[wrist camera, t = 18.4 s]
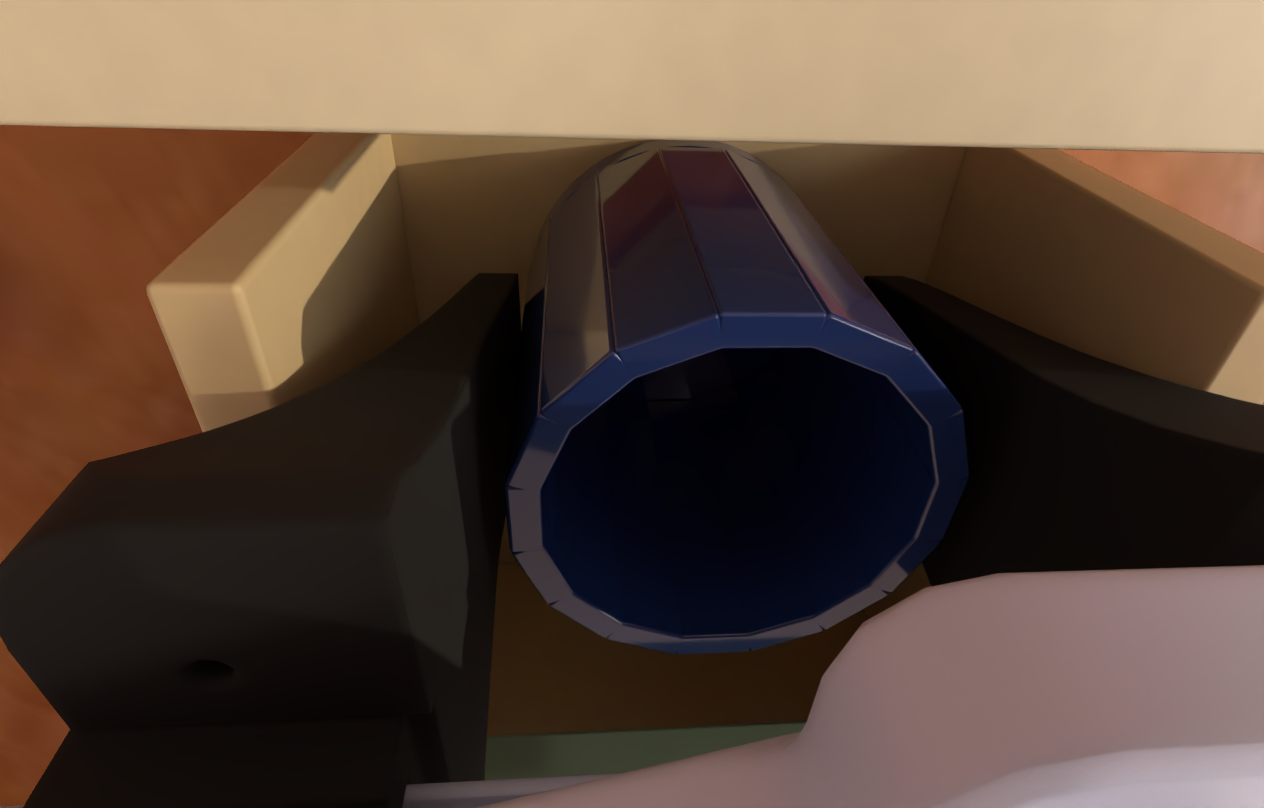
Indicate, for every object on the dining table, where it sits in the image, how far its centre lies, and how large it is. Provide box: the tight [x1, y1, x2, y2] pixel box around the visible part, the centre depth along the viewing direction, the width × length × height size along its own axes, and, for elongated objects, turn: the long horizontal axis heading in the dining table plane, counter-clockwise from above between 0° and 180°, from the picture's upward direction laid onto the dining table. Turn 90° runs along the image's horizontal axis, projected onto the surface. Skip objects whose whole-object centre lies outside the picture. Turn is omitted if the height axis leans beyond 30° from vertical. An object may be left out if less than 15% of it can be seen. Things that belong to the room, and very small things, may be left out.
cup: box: [504, 140, 970, 655], centre depth 10 cm, size 5×5×6 cm
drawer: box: [0, 0, 1264, 736], centre depth 10 cm, size 18×12×7 cm
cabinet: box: [485, 721, 807, 780], centre depth 17 cm, size 15×14×9 cm
